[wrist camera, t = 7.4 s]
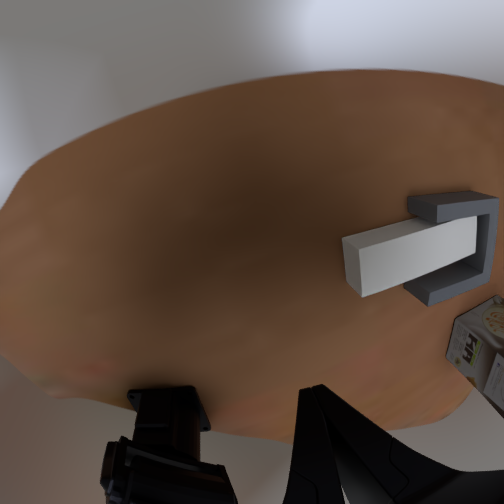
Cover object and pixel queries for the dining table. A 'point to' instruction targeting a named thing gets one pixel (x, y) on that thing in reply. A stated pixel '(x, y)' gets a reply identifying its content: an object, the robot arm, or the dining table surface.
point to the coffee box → (481, 349)
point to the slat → (405, 251)
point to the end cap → (468, 268)
